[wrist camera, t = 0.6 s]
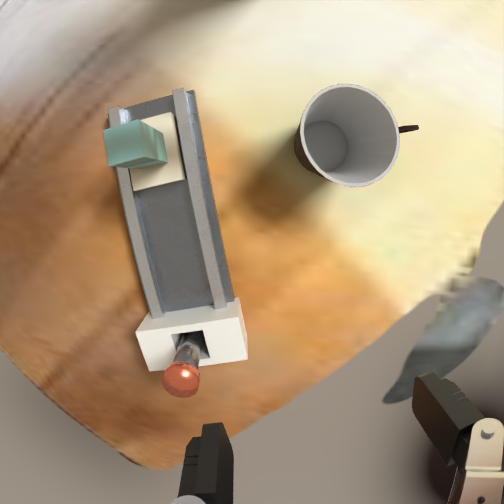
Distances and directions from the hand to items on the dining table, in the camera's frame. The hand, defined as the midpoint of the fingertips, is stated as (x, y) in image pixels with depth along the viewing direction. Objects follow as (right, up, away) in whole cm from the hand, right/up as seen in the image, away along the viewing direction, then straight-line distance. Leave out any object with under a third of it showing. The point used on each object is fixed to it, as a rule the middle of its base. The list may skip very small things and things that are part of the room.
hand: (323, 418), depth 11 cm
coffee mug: (+6, +18, +22) cm, 29 cm away
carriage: (-13, +17, +20) cm, 29 cm away
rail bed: (-12, +10, +23) cm, 28 cm away
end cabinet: (-9, -2, +26) cm, 28 cm away
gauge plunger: (-9, -3, +23) cm, 25 cm away
